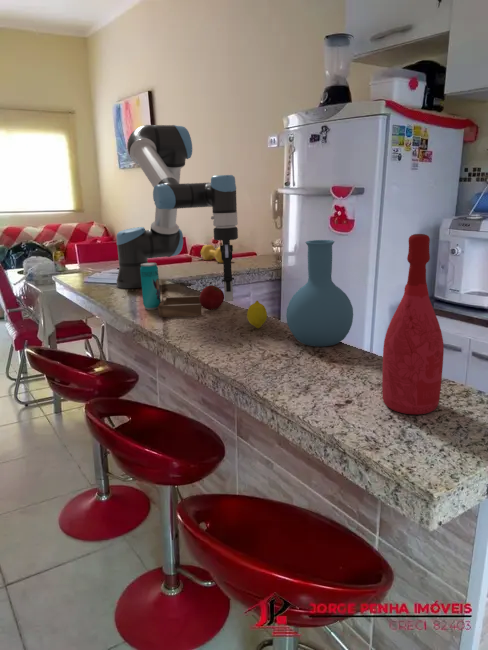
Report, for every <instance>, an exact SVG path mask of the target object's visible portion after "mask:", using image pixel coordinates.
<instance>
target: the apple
mask: <svg viewBox="0 0 488 650" xmlns="http://www.w3.org/2000/svg"><path fill="white" fill-rule="evenodd" d="M199 296H200V297H199V300H200V304H201V305H202V306H203V307H202V308H204V309H206V310H208V311H215V310H217V309H219V308H220V307H222V305H223V303H224V302H225V294H224V291H223V290H222V289H221V288H219V287H218V286H216V285H207V286H206V287H204V288H203V289H202V290H201V292H200V293H199Z"/></svg>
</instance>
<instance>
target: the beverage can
mask: <svg viewBox="0 0 488 650" xmlns="http://www.w3.org/2000/svg"><path fill="white" fill-rule="evenodd" d="M140 273H141V284H142V287H141V293H142V304H143V306H144V308H145V309H146V310H148V311H153V310H159V309H158V306H159V304H160V302H161V301H162V299H161V291H160V290H161V289H160V279H159V278H160V277H159V268H158V264H157V263H156V262H148V263H143V264H141V268H140Z"/></svg>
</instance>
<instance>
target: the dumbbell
mask: <svg viewBox="0 0 488 650" xmlns="http://www.w3.org/2000/svg"><path fill="white" fill-rule="evenodd" d="M200 255H201V258H202V259H203V260H204V261H213V260H214V259H215V261H216V262H217V263H220V264H223V260H222V257H221V251H220V246H219V247H217V248H215V247H214V245H213V244H205V245H203V246H202V248H201V250H200Z"/></svg>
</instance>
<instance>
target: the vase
mask: <svg viewBox="0 0 488 650" xmlns="http://www.w3.org/2000/svg"><path fill="white" fill-rule="evenodd" d="M335 242H336V241H334V240H332V239H331V240H330V239H312V240H308V241H305V244H306V245H307V271H308V272H307V274H308V275H307V276H308V278H307V282H306V283H305V284H304V285H303V286H302V287H300V288H299V289H298V290H297V291H296V292H295V293H294V294H293V296H291V299H290V301H289V302H288V305H287V307H286V312H285V313H286V314H285V315H286V324H287V326H288V327H287V328H289V330H290V332H291V334H292V335H293V337H294V338H295V339H296V340H297V341H298V342H300V343H301V344H303V345H305V346H311V347H330V346H336V345H337V344H339V343H340V342H342V341H344V340H345V339H346V337H347V335H348V334H349V333H350V330H351V329H352V325H353V319H354V307H353V305H352V302H351V300H350V298H349V296H348V295H347V294H346V293H345V292H344V290H342V288H340V287H339V286H337V285H336V284H335V283H334V282H333V280H332V273H333V244H334V243H335Z"/></svg>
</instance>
